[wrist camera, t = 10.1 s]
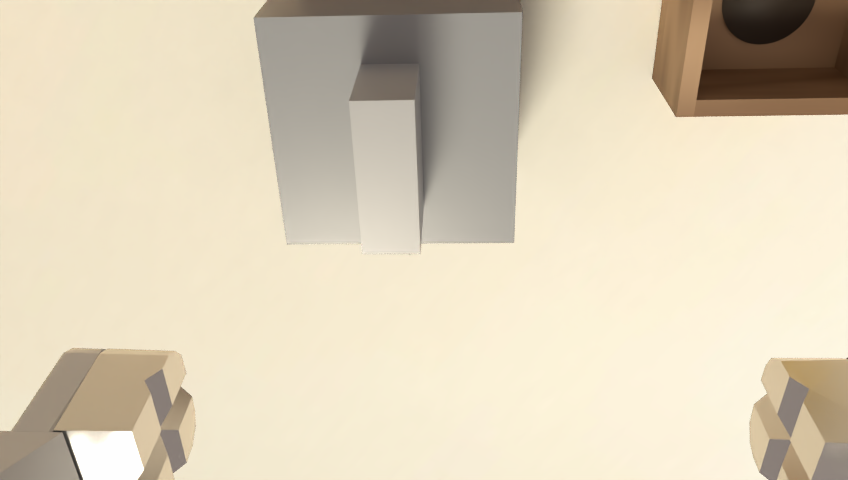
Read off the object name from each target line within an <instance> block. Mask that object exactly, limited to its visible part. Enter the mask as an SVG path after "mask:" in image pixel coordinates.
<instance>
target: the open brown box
mask: <svg viewBox="0 0 848 480" xmlns="http://www.w3.org/2000/svg"><path fill="white" fill-rule="evenodd" d="M652 79H653V80H654V82H655V84H656V85H657V87H658V89H659V90H660V92H661V93H662V95H663V97H664V98H665V100H666V102H667V103H668V105H669V106H670V108H671V110H672V111H673V113H674V114H675V116H676V117H700V116H771V115H841V114H848V0H662V7H661V15H660V22H659V30H658V38H657V45H656V53H655V61H654V68H653V76H652Z"/></svg>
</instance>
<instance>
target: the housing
mask: <svg viewBox="0 0 848 480" xmlns="http://www.w3.org/2000/svg"><path fill="white" fill-rule="evenodd" d="M522 14H523V12H522V8H521V4H520V0H267V2H266V3H265V4H264V5H263V7H262V8H261V9H260V10H259V12H258V13H257V14H256V15H255V17H254V24H255V30H256V37H257V44H258V51H259V58H260V64H261V71H262V78H263V85H264V92H265V99H266V105H267V112H268V119H269V126H270V133H271V139H272V146H273V153H274V160H275V167H276V173H277V180H278V187H279V194H280V201H281V208H282V214H283V221H284V228H285V235H286V242H287V244H361V247H362V254H420V253H421V243H514V231H515V204H516V177H517V150H518V123H519V96H520V69H521V41H522Z"/></svg>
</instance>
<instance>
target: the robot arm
mask: <svg viewBox="0 0 848 480" xmlns="http://www.w3.org/2000/svg"><path fill="white" fill-rule="evenodd" d="M185 375H186V370H185V366H184V363H183V359H182V356H181V354H179V353H177V352H176V351H161V350H132V349H106V350H105V349H85V348H72V349H70V350H68V351H67V352H65V353H64V354H63V355H62V356H61V357H60V359H59V360H58V362H57V363H56V365H55V366H54V368H53V369H52V371H51V372H50V374H49V375H48V377H47V378H46V380H45V381H44V383H43V384H42V386H41V387H40V389H39V390H38V392H37V393H36V395H35V396H34V398H33V399H32V401H31V402H30V404H29V405H28V407H27V408H26V410H25V411H24V413H23V414H22V416H21V417H20V419H19V420H18V422H17V423H16V425H15V426H14V428H13V429H12V431H0V480H174V476H173V473H174V472H175V471H177V470H178V469H179V468H180V467H182V466H183V465H184V464H185V463H187V460H188V457H189V455H190V452H191V449H192V446H193V440H194V433H195V427H196V422H195V408H194V403H193V399H192V396H191V395H190V394H189V393H187V392H186V391H185V390H184V389H183V388H182V387H181V384H182V382H183V380H184V377H185ZM761 381H762V383H763V386H764V388H765V390H766V392H767V394H766V395H765V396H764V397H762V398H761V399H760V400H759V401H758V402H756V403H755V404H754V406H753V410H752V415H751V419H750V445H751V449H752V454H753V458H754V460H755V463H756V465H757V468H758V470H759V472H760V473H761V474H762V475H763V476H765V477H766V478H767V479H768V480H848V358H846V359H843V358H771V359H770V360H769V362H768V363H767V364H766V366H765V368H764V372H763V375H762V378H761Z"/></svg>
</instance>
